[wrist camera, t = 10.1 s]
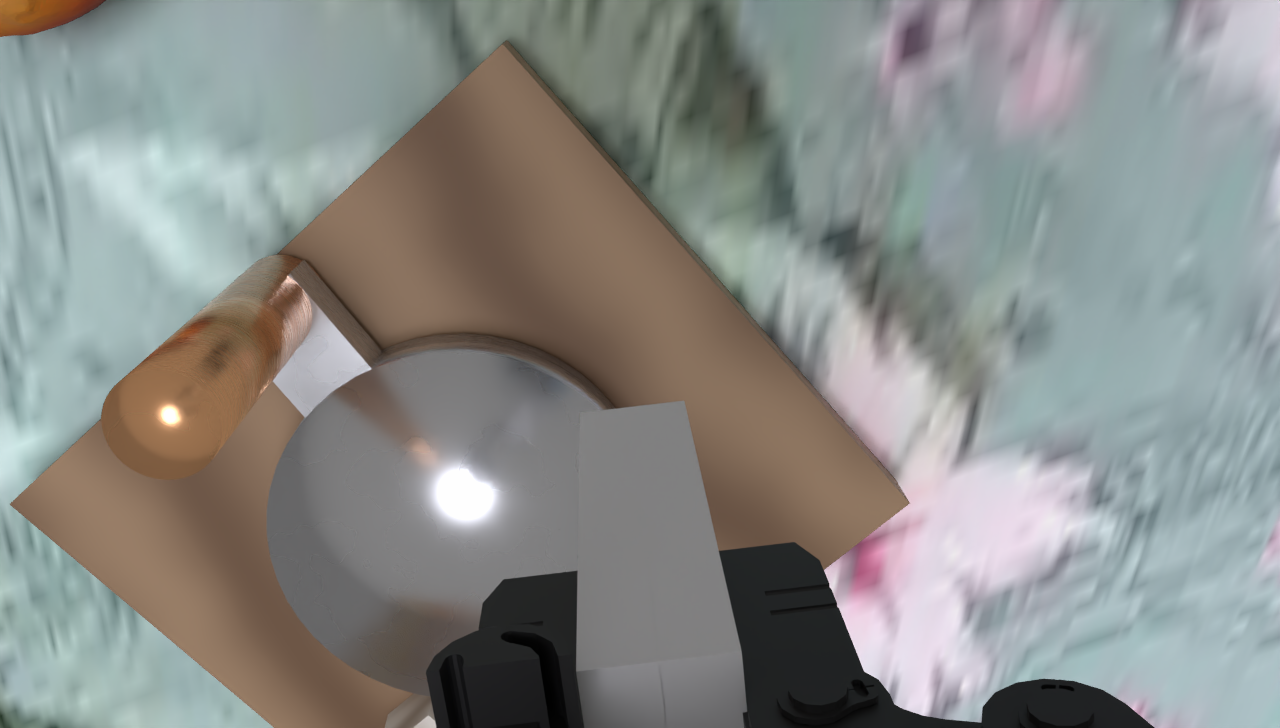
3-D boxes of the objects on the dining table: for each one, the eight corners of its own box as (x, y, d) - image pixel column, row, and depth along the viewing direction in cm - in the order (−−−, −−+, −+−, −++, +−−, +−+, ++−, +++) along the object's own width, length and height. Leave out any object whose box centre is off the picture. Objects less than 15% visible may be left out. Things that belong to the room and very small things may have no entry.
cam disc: (719, 538, 40) (766, 740, 29) (440, 725, 42) (390, 978, 31) (407, 145, 35) (332, 218, 25) (109, 374, 37) (-78, 532, 27)
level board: (506, 40, 37) (496, 48, 32) (895, 479, 42) (929, 535, 38) (36, 479, 40) (-27, 537, 36) (446, 830, 46) (431, 916, 42)
